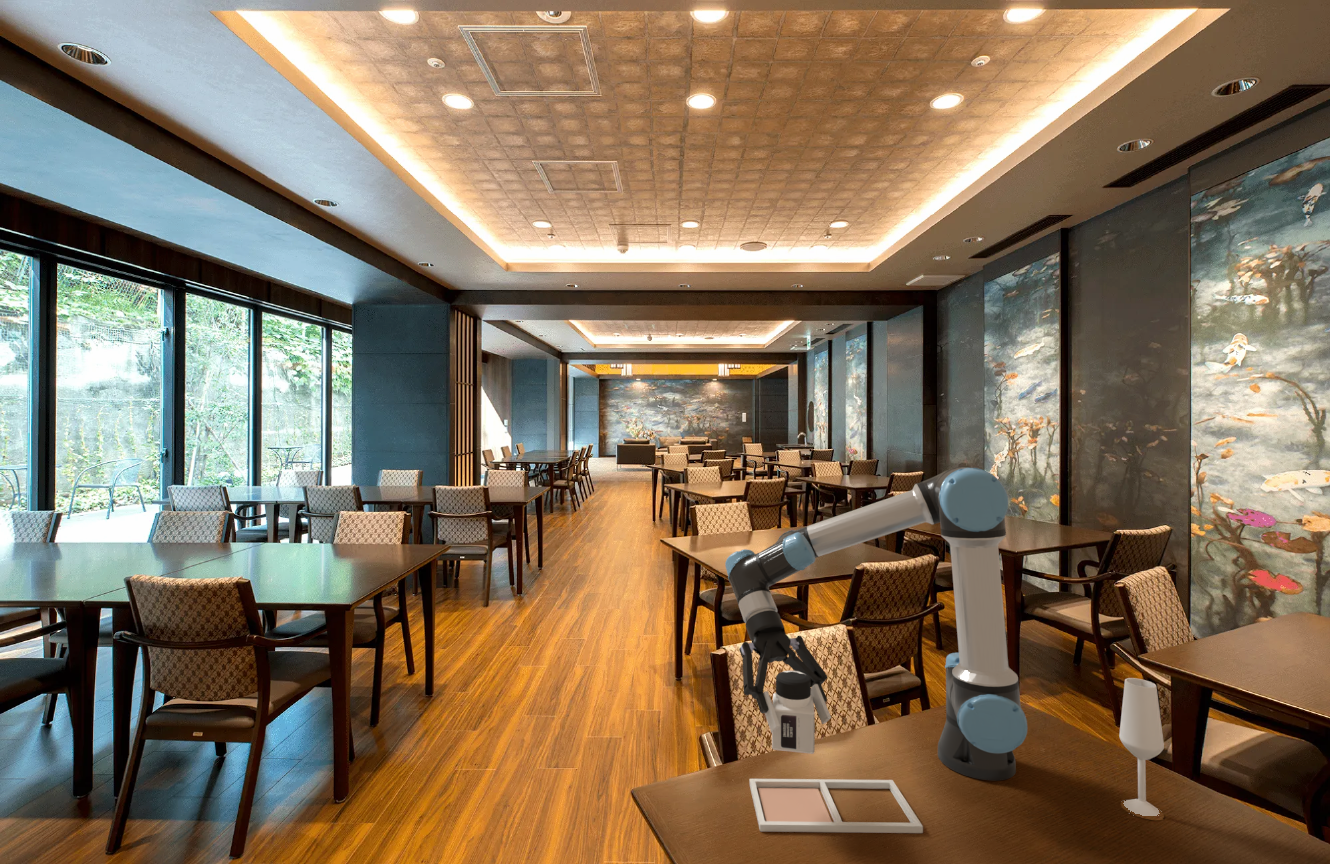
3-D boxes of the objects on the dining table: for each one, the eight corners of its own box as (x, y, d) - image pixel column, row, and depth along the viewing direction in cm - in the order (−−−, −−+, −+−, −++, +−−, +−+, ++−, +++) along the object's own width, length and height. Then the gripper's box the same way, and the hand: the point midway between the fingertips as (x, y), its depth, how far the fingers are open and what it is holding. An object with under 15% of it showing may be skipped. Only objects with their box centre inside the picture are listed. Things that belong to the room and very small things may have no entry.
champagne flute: (1167, 825, 111) (1165, 692, 111) (1121, 813, 115) (1119, 684, 115) (1162, 806, 117) (1160, 680, 117) (1118, 795, 120) (1117, 673, 121)
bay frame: (892, 785, 124) (892, 779, 124) (922, 832, 109) (922, 826, 109) (749, 784, 124) (749, 778, 124) (760, 831, 109) (760, 824, 109)
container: (814, 754, 112) (814, 683, 112) (772, 750, 114) (772, 680, 114) (812, 735, 120) (813, 668, 120) (773, 731, 121) (773, 665, 122)
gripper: (801, 622, 135) (844, 723, 120) (707, 632, 128) (740, 742, 113) (815, 604, 130) (861, 707, 115) (717, 613, 123) (753, 725, 108)
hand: (801, 724), depth 114 cm, fingers closed on container, 10 cm apart
